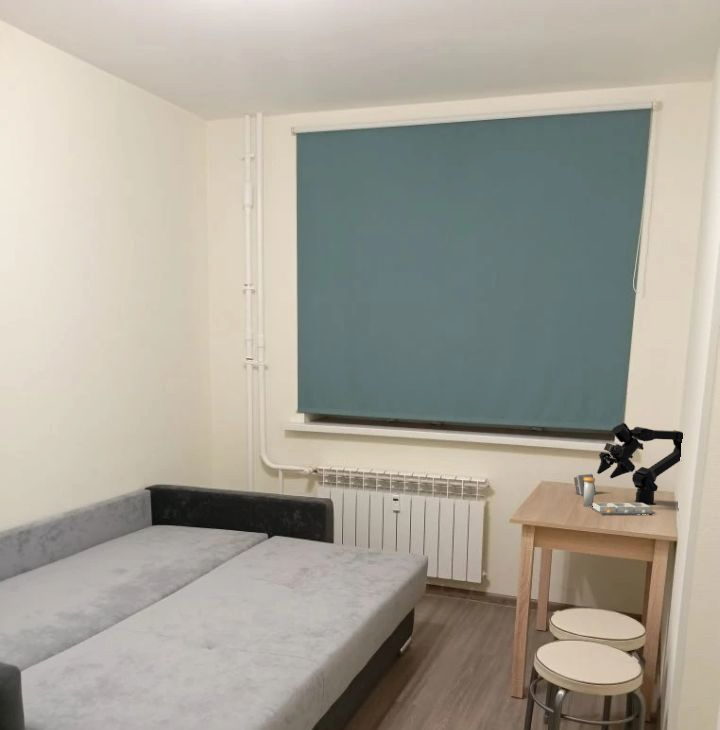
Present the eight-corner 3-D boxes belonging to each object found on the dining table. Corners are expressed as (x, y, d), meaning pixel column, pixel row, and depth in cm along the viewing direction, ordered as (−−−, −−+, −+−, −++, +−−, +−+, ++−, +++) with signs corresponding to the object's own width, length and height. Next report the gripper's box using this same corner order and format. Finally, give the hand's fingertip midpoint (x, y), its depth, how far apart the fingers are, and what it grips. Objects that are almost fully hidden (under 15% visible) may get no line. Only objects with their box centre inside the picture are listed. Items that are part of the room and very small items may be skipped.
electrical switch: (581, 496, 304) (580, 475, 304) (573, 494, 309) (572, 474, 309) (596, 494, 308) (595, 474, 309) (588, 493, 313) (587, 473, 313)
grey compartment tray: (641, 508, 282) (641, 502, 281) (654, 515, 272) (654, 508, 272) (591, 509, 280) (591, 502, 280) (602, 515, 270) (602, 508, 270)
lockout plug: (591, 504, 288) (592, 477, 287) (595, 507, 283) (596, 479, 283) (580, 504, 287) (581, 477, 287) (585, 507, 283) (586, 479, 282)
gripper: (603, 433, 296) (580, 458, 294) (630, 440, 278) (605, 466, 276) (618, 451, 298) (595, 476, 296) (645, 458, 280) (621, 485, 278)
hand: (604, 475), depth 287 cm, fingers open, 9 cm apart
